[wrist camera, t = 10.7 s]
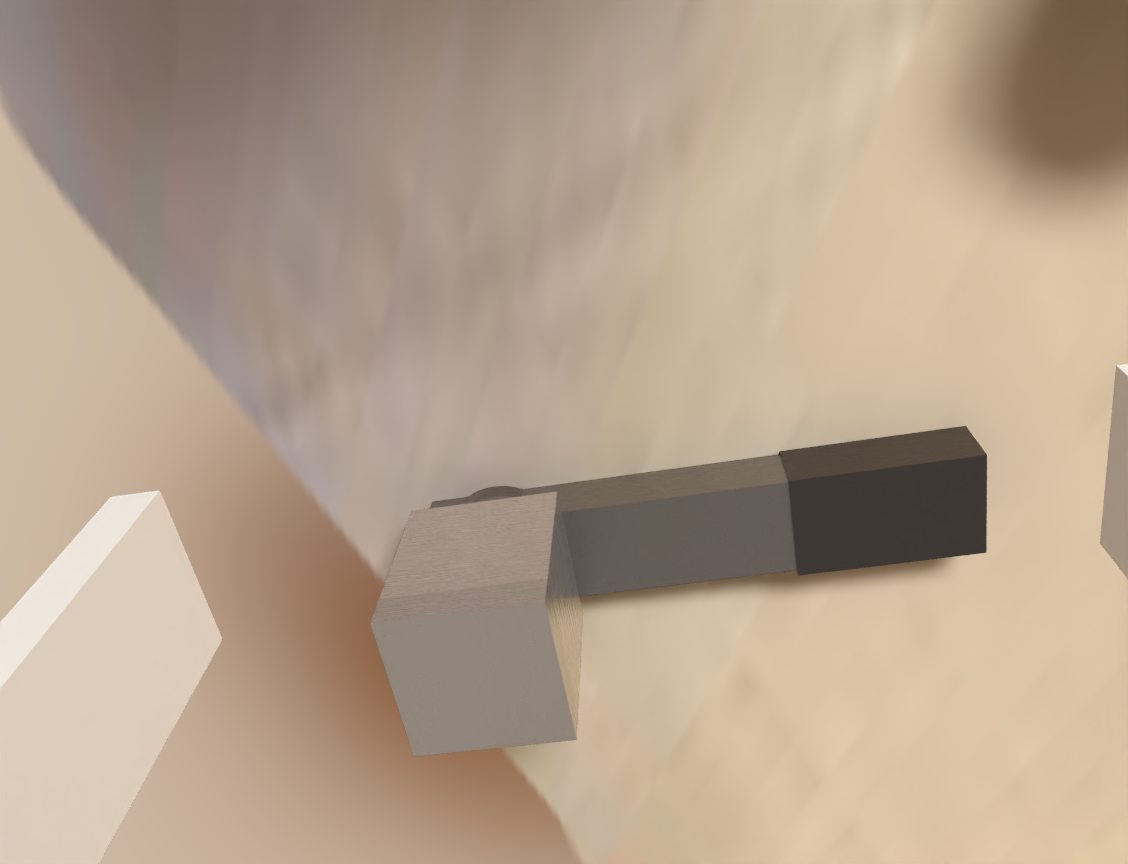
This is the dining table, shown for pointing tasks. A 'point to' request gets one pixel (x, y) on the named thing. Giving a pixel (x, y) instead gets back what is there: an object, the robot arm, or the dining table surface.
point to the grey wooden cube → (483, 626)
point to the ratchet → (775, 513)
